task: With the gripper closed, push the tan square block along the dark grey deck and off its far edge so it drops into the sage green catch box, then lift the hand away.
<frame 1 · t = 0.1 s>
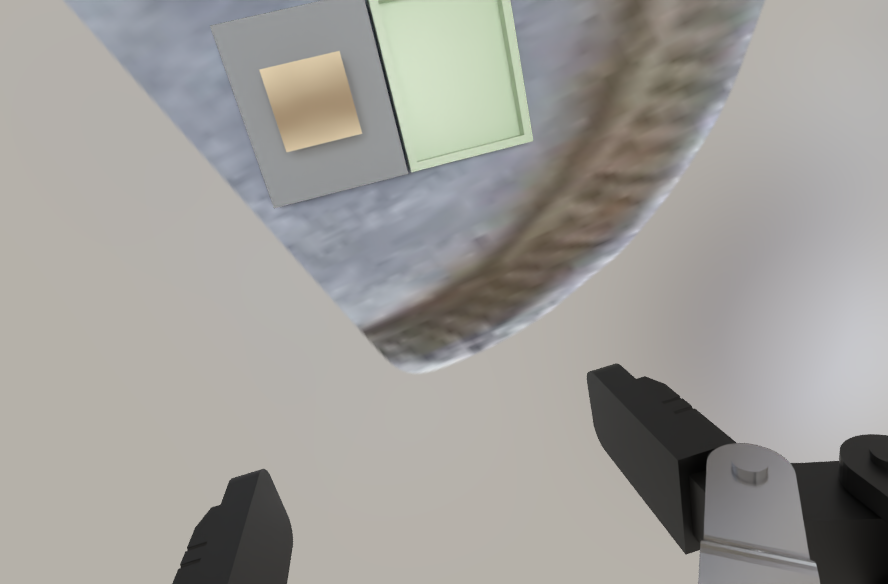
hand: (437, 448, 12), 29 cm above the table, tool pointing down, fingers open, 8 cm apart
catch box: (451, 74, 37), on the table
deck: (318, 106, 36), on the table
tan square block: (316, 105, 34), point 2 cm above the table, touching deck
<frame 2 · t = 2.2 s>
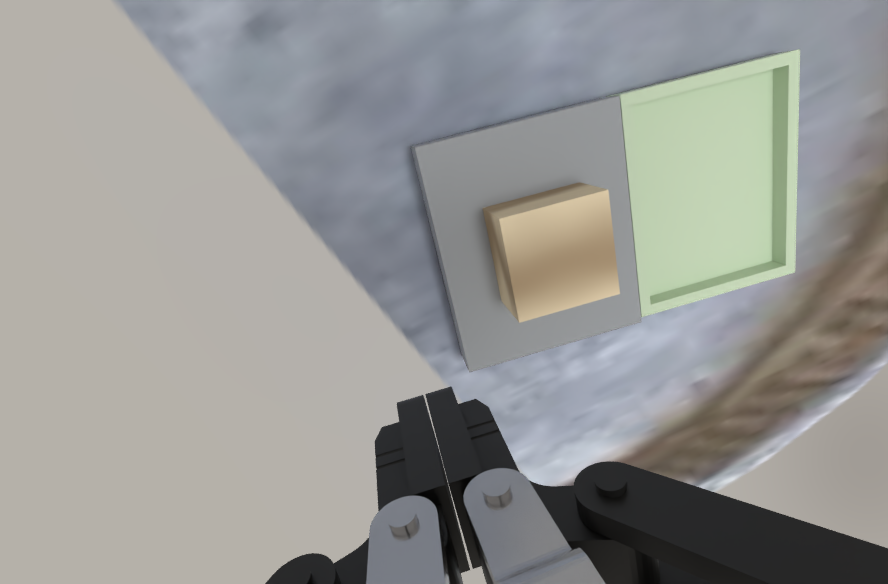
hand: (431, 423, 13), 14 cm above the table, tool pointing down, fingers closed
catch box: (697, 188, 28), on the table
deck: (526, 235, 27), on the table
tan square block: (539, 243, 25), point 2 cm above the table, touching deck
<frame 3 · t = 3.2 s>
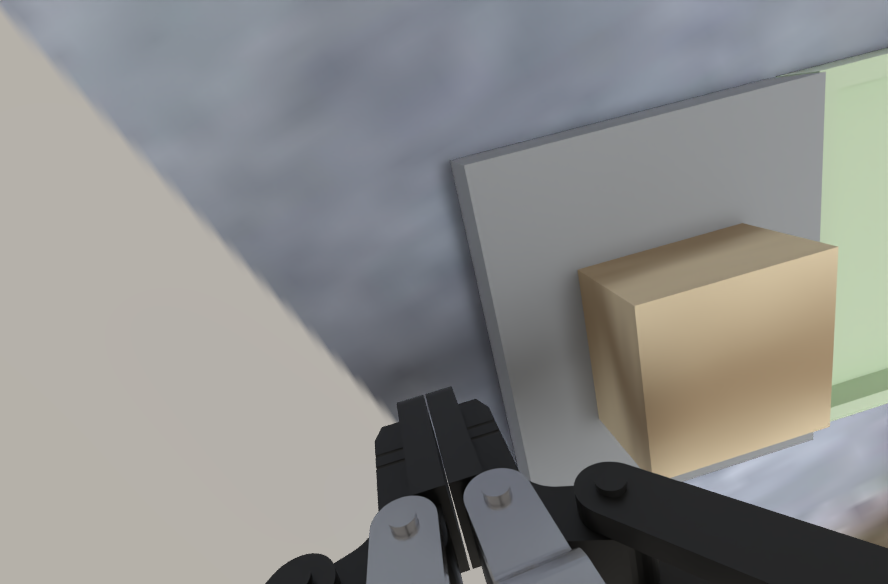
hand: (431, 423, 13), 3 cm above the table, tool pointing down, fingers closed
deck: (632, 303, 17), on the table
tan square block: (667, 325, 15), point 2 cm above the table, touching deck
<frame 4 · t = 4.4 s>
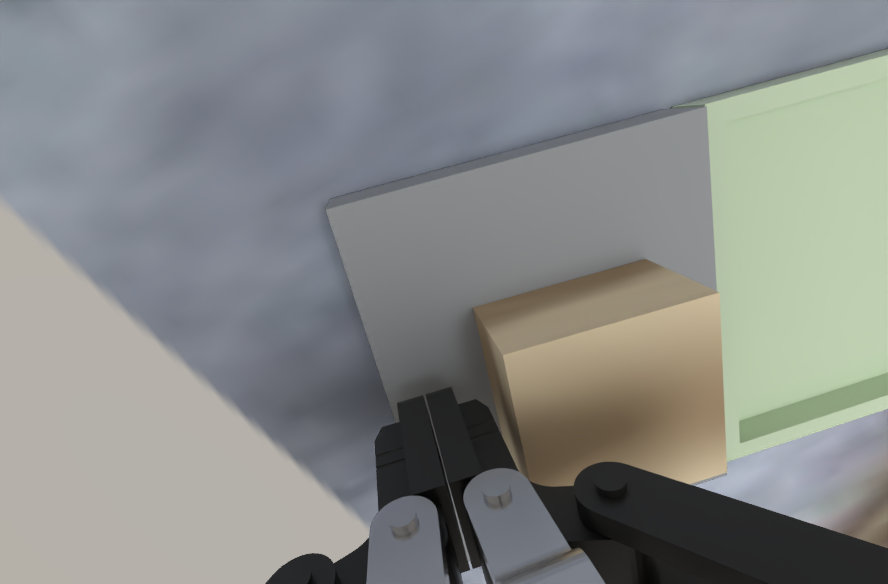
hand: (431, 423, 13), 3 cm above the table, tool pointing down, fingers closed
catch box: (814, 253, 17), on the table
deck: (536, 337, 16), on the table
tan square block: (573, 362, 14), point 2 cm above the table, touching deck, gripper
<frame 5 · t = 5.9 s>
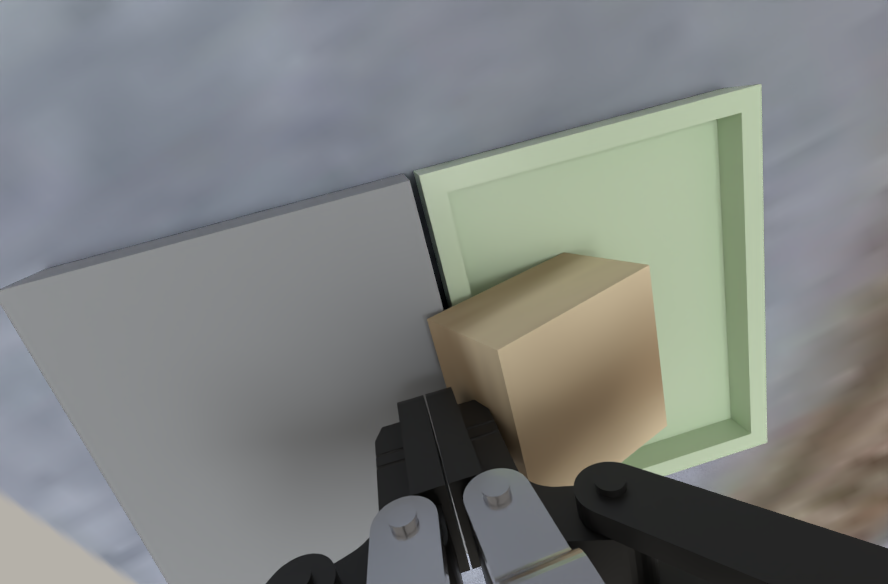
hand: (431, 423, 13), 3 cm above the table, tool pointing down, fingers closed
catch box: (598, 313, 16), on the table
deck: (301, 401, 16), on the table
tan square block: (517, 359, 15), point 1 cm above the table, tilted 23°, touching catch box, gripper
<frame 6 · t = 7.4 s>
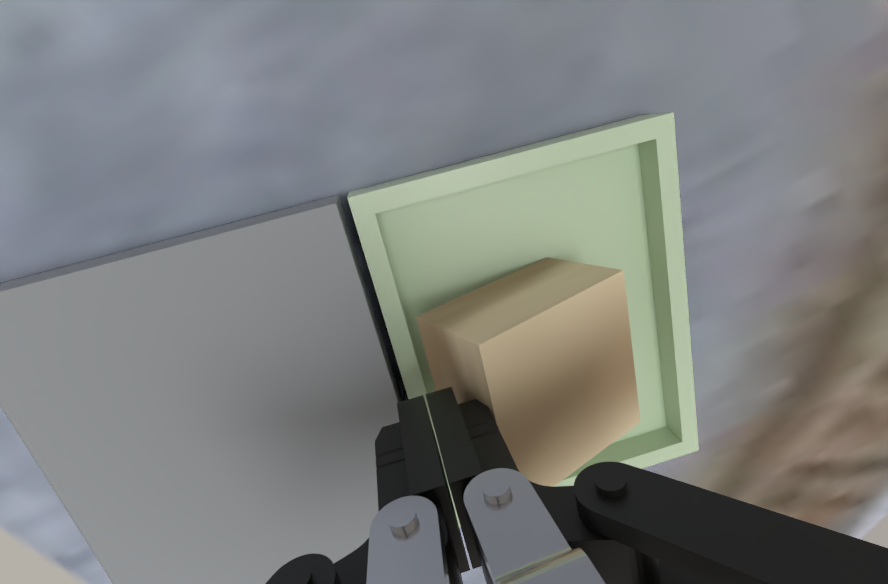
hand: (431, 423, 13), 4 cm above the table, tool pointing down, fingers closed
catch box: (533, 325, 17), on the table
deck: (246, 410, 16), on the table
tan square block: (501, 357, 16), point 1 cm above the table, tilted 23°, touching catch box, gripper
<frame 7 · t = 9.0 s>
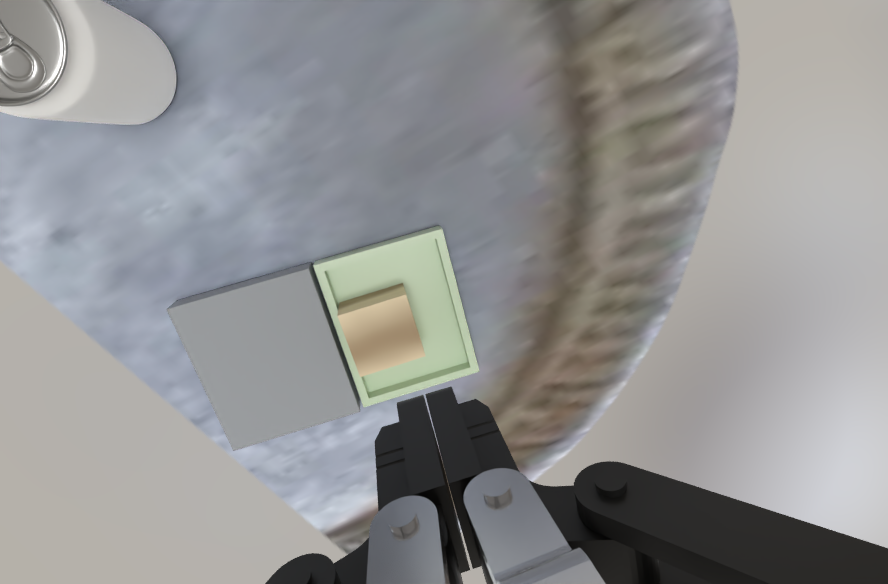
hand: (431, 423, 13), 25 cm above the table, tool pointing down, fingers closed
catch box: (399, 315, 39), on the table
deck: (273, 352, 38), on the table
can: (125, 72, 31), on the table
tan square block: (381, 322, 38), resting on catch box
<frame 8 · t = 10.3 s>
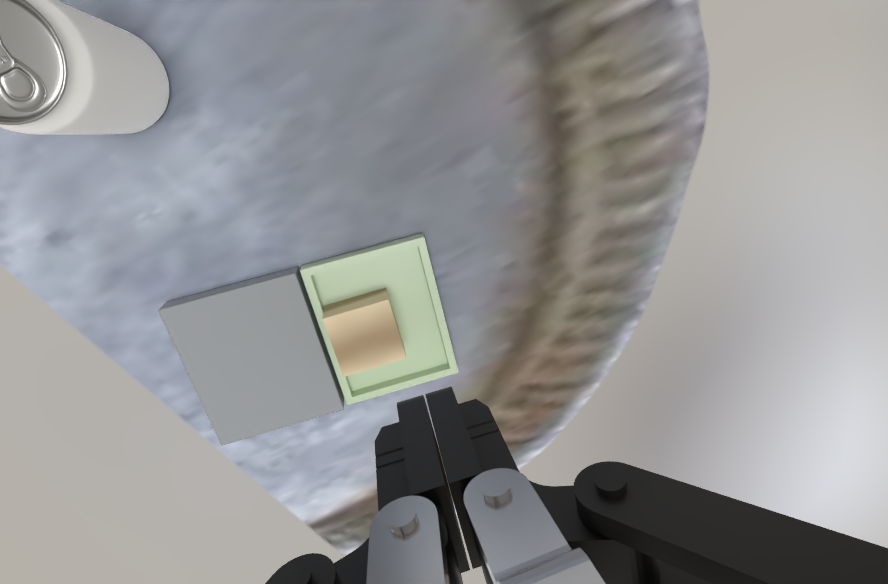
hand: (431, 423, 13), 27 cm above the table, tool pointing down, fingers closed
catch box: (383, 317, 41), on the table
deck: (261, 352, 40), on the table
can: (120, 82, 33), on the table
tan square block: (365, 324, 40), resting on catch box
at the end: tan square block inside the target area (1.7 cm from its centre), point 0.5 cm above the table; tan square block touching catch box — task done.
